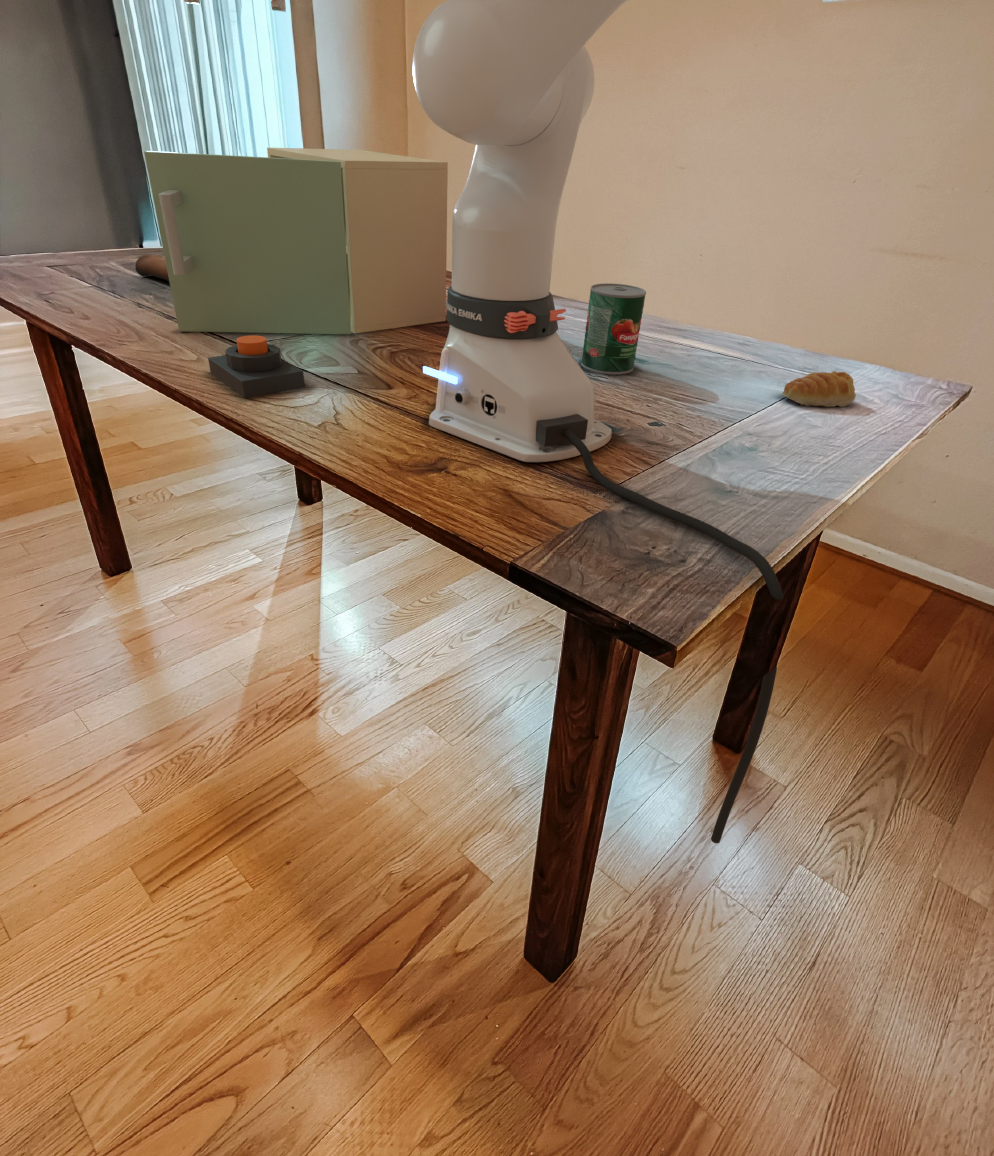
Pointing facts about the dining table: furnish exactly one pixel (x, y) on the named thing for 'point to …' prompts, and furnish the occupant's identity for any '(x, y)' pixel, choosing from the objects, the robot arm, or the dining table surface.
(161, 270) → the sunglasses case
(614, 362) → the canned tomato
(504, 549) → the dining table surface
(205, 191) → the cupboard door
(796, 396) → the pastry
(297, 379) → the control block
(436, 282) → the cupboard
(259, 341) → the button
